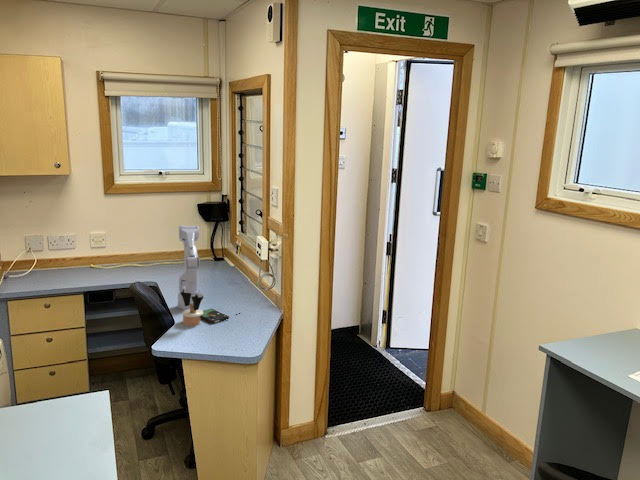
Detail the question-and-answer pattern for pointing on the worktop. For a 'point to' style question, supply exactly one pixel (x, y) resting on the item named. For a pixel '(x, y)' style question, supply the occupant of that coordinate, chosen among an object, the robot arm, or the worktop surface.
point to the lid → (192, 312)
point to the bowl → (191, 321)
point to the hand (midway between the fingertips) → (191, 307)
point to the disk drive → (213, 316)
